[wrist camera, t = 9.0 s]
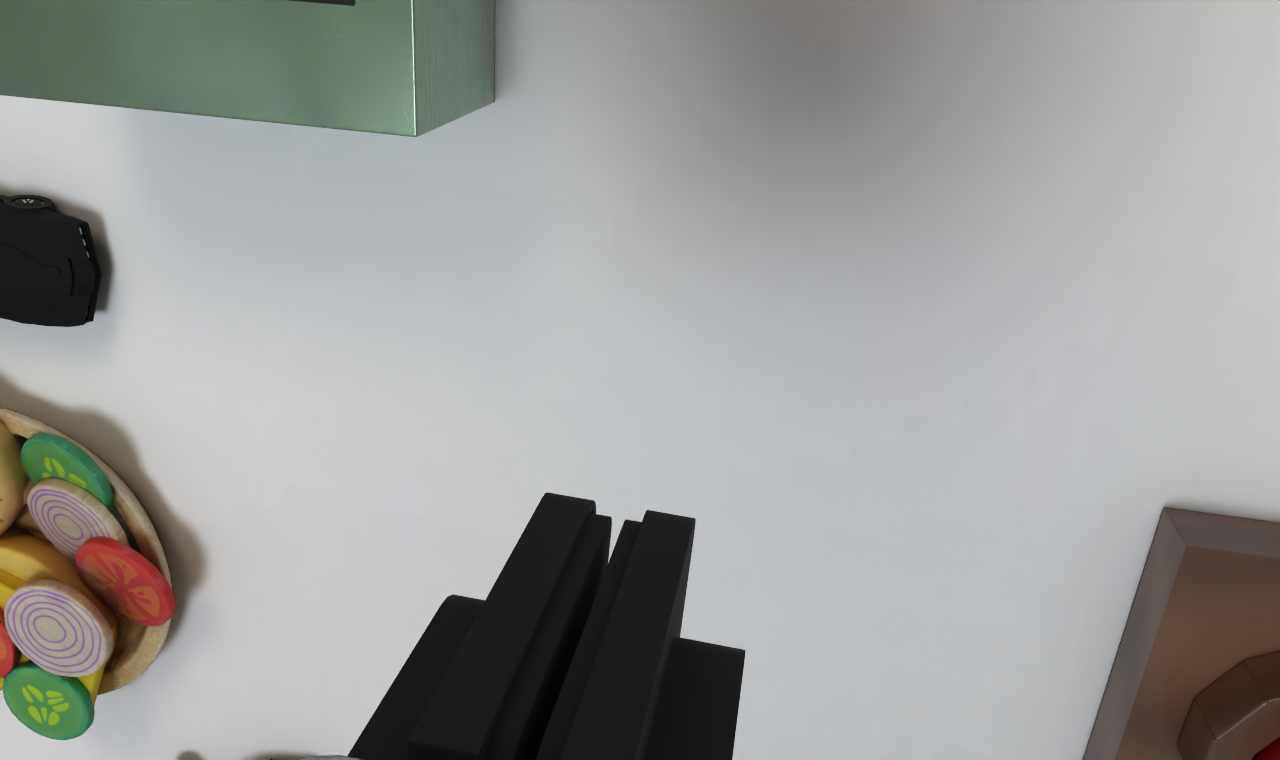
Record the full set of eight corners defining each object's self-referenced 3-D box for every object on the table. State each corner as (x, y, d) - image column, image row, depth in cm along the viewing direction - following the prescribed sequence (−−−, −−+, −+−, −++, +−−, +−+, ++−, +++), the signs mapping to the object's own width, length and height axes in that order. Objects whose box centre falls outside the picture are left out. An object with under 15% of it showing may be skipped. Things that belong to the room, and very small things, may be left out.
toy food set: (-102, 318, 36) (-187, 351, 33) (235, 480, 36) (182, 527, 33) (-131, 591, 41) (-205, 640, 38) (160, 729, 41) (109, 789, 39)
